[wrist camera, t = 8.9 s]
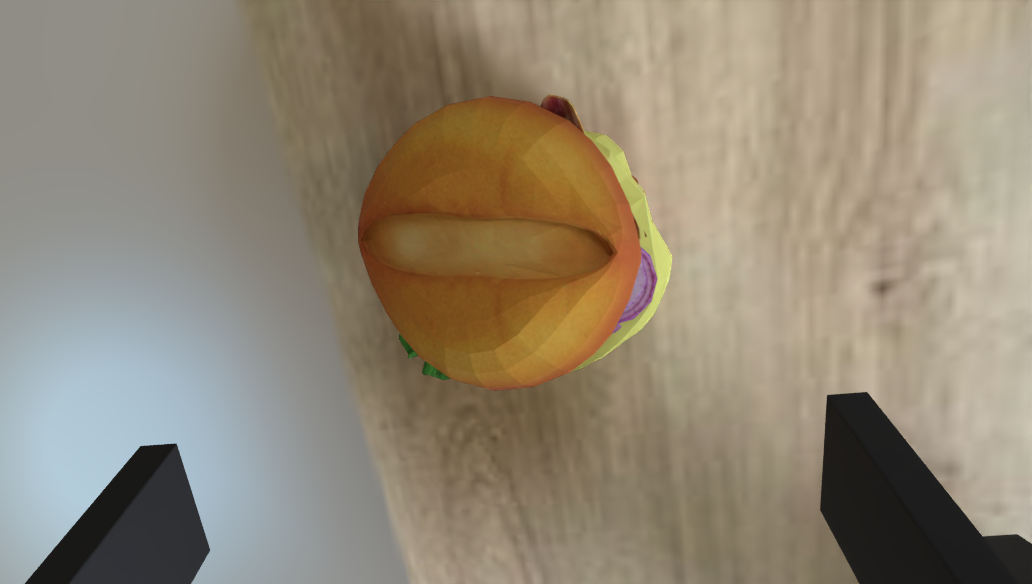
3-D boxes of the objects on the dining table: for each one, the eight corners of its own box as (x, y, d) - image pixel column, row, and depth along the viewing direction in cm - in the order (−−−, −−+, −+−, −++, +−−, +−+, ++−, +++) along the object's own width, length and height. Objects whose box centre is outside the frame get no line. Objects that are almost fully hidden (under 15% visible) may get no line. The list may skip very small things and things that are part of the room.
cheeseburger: (503, 402, 33) (441, 511, 24) (365, 194, 32) (244, 218, 23) (710, 282, 31) (735, 349, 21) (566, 53, 30) (524, 13, 20)
